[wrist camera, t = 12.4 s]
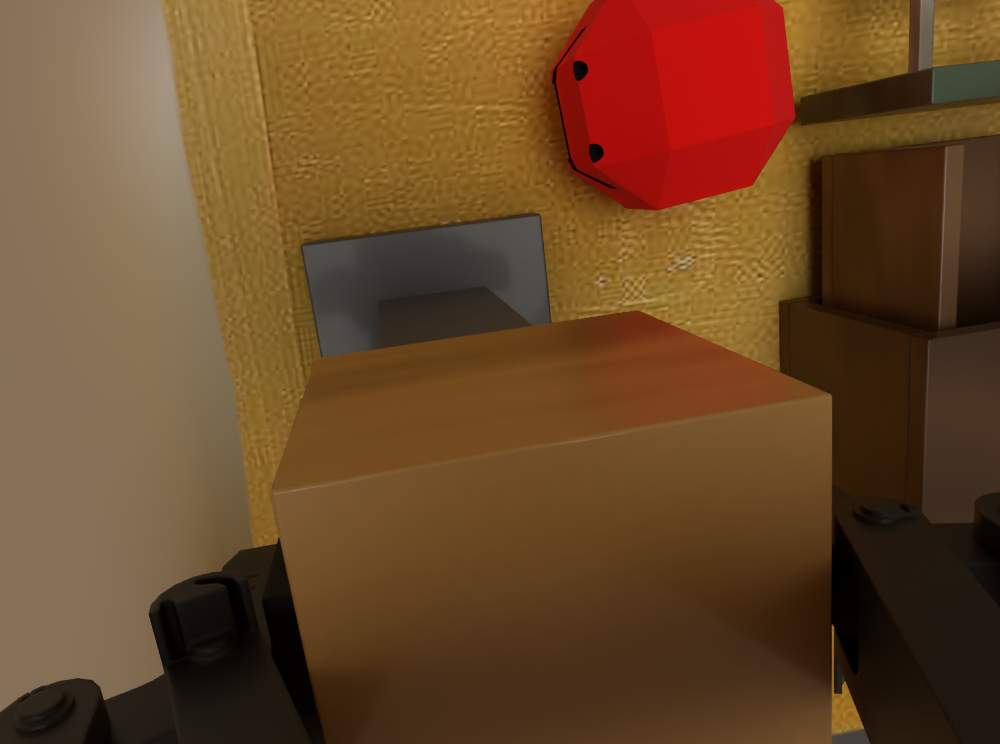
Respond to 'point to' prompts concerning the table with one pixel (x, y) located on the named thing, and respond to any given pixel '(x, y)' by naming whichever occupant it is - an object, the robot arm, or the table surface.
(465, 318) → the stand
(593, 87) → the red faceted polyhedron
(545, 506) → the oak block
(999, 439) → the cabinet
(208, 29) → the table surface
